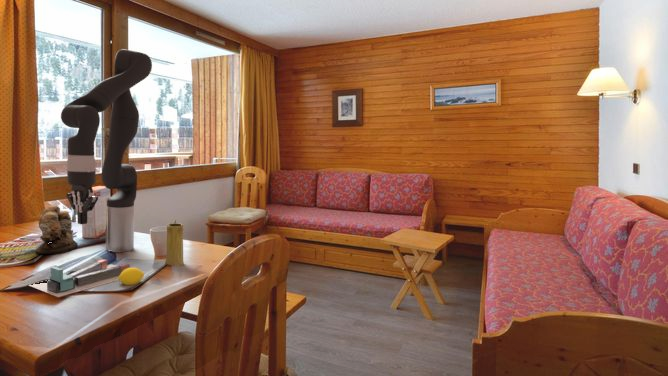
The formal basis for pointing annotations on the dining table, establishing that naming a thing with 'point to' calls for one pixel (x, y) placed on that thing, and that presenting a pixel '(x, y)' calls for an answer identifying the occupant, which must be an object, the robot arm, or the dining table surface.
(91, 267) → the jaw
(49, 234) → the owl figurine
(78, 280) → the tongs base
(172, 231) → the green pillar candle
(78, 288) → the mat
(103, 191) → the cracker box
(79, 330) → the dining table surface
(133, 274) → the lemon
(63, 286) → the lock collar
